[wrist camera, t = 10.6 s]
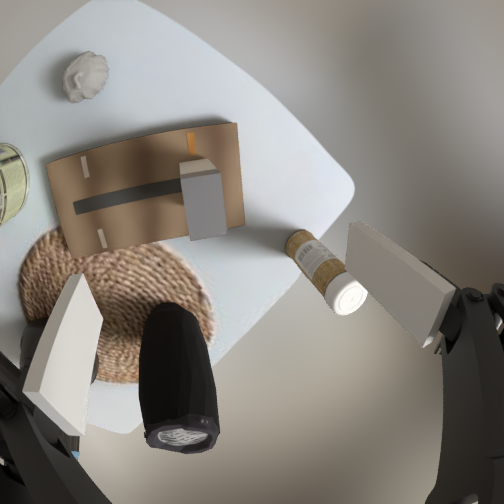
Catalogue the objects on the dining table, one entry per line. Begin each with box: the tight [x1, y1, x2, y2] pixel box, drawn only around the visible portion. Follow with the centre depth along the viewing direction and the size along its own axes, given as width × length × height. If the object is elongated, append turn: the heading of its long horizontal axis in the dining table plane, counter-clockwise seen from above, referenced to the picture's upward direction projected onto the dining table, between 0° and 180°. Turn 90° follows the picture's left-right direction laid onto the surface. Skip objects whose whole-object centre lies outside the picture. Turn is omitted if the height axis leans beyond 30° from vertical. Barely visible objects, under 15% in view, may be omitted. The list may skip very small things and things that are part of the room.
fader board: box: [46, 123, 245, 259], centre depth 28 cm, size 22×12×2 cm, turn 94°
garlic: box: [62, 51, 109, 103], centre depth 19 cm, size 6×5×5 cm
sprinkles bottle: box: [286, 231, 368, 315], centre depth 32 cm, size 5×5×14 cm
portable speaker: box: [139, 303, 220, 454], centre depth 30 cm, size 9×9×20 cm
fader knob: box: [179, 158, 227, 241], centre depth 24 cm, size 3×5×9 cm, turn 4°
